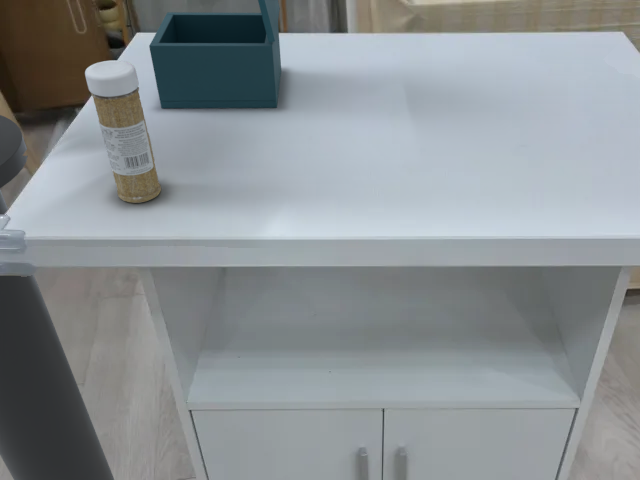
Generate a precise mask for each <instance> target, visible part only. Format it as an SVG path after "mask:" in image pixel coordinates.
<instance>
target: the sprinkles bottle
mask: <svg viewBox="0 0 640 480" xmlns="http://www.w3.org/2000/svg"><path fill="white" fill-rule="evenodd" d="M84 76H85V80H86V85H87V89H88V91H89V92H90V94H91V96H92V99H93V103H94V105H95V111H96V114H97V117H98V123H99V127H100V131H101V134H102V139H103V142H104V146H105V150H106V153H107V158H108V162H109V165H110V169H111V171H112V174H113V178H114V181H115V184H116V190H117V196H118V198H119V199H120V200H122V201H123V202H128V203H134V204H138V203H139V204H140V203H145V202H146V203H147V202H148V201H150V200H153V199H155V198H157V197H158V196H159V194H160V193H161V191H162V187H161V183H160V182H159V176H158V172H157V168H156V163H155V155H154V151H153V146H152V141H151V137H150V136H151V135H150V133H149V131H148V126H147V122H146V118H145V114H144V109H143V105H142V100H141V96H140V93H139V91H140V87H139V86H140V82H139V78H138V74H137V70H136V67H135V66H134V64H133V63H131V62H129V61H125V60H120V59H119V60H118V59H117V60H115V59H113V60H112V59H111V60H104V61H98V62H96V63H92V64H91V65H89V66H88V67H87V68H86V69H85V71H84Z"/></svg>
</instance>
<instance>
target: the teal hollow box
mask: <svg viewBox="0 0 640 480" xmlns="http://www.w3.org/2000/svg"><path fill="white" fill-rule="evenodd" d="M280 44H281V43H280V31H279V23H278V24H277V31H276V38H275V42H270V43H269V41H268V37H267V34H266V30H265V26H264V22H263V18H262V14H261V12H200V11H199V12H194V11H193V12H191V11H190V12H189V11H188V12H187V11H184V12H182V11H180V12H177V11H176V12H175V11H172V12H171V11H170V12H169V11H168V12H166V14H165V16H164V17H163V19H162V22H161V23H160V25H159V27H158V29H157V31H156V32H155V34H154V36H153V38H152V40H151V41H150V44H149V52H150V58H151V62H152V67H153V68H152V69H153V73H154V79H155V82H156V89H157V94H158V98H159V104H160V108H161V109H276V108H278V101H279V94H280V84H281V76H282V60H281V59H282V58H281V45H280Z"/></svg>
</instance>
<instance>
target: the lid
mask: <svg viewBox="0 0 640 480" xmlns="http://www.w3.org/2000/svg"><path fill="white" fill-rule="evenodd" d="M257 2H258V6H259V11H260V13H261V14H262V18H263V22H264V26H265V30H266V34H267V37H268V41H269V43H270V42H275V38H276V31H277V24H278V25H279V18H280V10H281V8H280V2H279V0H257Z"/></svg>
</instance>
